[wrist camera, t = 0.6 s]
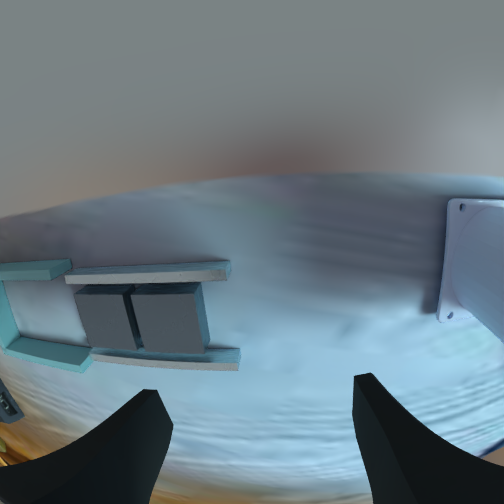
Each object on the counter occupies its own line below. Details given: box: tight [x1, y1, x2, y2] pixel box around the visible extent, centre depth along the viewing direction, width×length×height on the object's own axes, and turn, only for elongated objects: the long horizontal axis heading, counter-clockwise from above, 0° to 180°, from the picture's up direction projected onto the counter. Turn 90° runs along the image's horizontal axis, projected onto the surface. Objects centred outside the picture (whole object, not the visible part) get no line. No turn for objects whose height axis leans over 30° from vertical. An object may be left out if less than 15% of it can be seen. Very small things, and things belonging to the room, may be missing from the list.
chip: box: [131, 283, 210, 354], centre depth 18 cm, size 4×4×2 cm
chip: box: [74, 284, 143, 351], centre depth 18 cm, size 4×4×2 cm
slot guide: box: [64, 261, 241, 371], centre depth 18 cm, size 11×7×2 cm, turn 95°
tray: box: [0, 259, 93, 373], centre depth 18 cm, size 11×8×2 cm
